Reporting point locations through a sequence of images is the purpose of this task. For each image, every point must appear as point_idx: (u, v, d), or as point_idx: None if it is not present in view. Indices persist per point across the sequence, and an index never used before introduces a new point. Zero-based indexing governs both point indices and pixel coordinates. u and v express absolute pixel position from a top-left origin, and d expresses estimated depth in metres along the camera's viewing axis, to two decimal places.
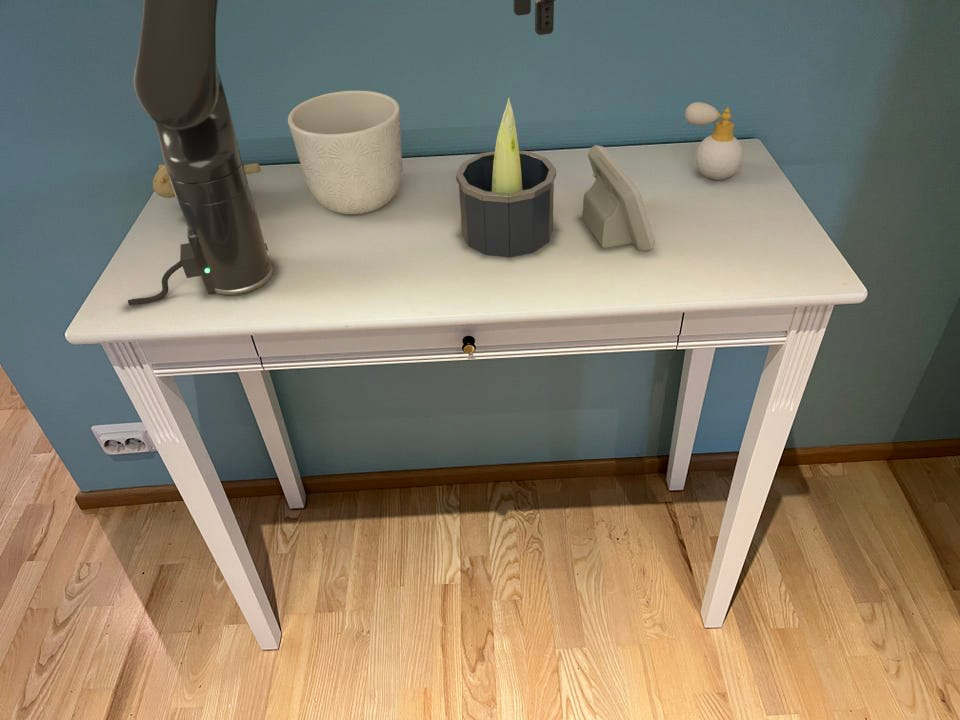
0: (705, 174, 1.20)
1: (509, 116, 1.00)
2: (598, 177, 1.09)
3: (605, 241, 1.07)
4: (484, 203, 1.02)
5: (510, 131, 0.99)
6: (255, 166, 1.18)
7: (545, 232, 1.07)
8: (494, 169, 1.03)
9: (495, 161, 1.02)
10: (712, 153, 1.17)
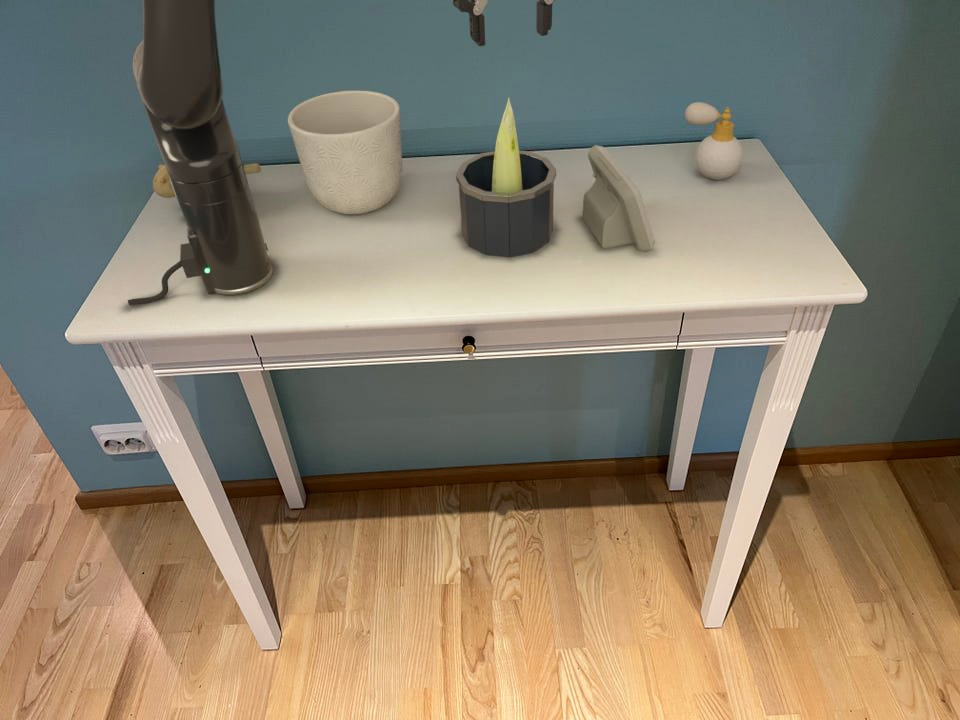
0: (705, 174, 1.20)
1: (509, 116, 1.00)
2: (598, 177, 1.09)
3: (605, 241, 1.07)
4: (484, 203, 1.02)
5: (510, 131, 0.99)
6: (255, 166, 1.18)
7: (545, 232, 1.07)
8: (494, 169, 1.03)
9: (495, 161, 1.02)
10: (712, 153, 1.17)
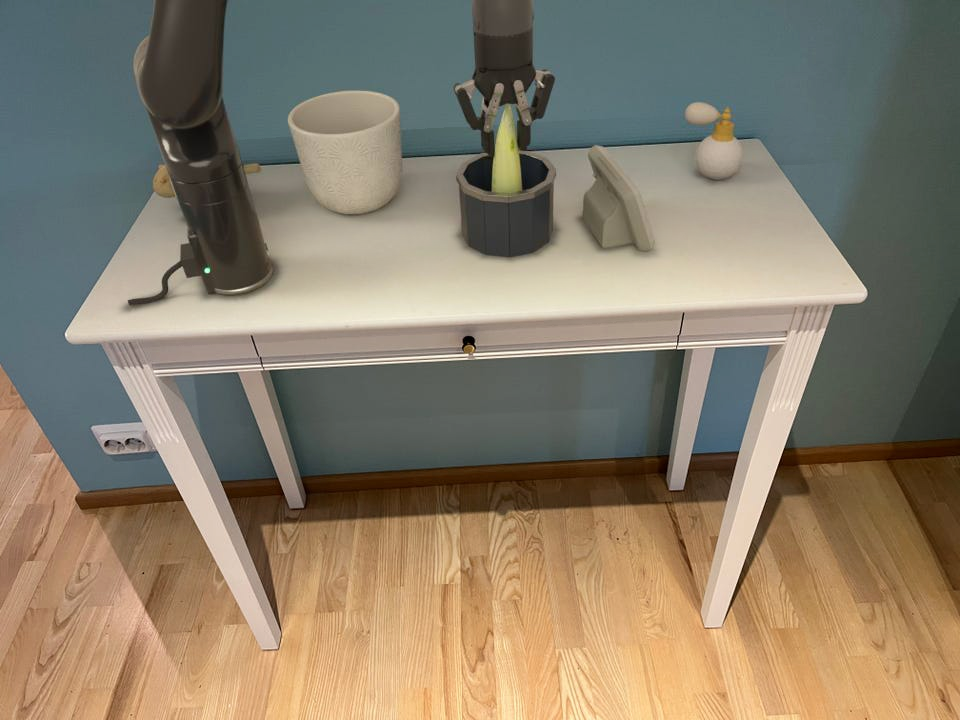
0: (705, 174, 1.20)
1: (508, 116, 1.00)
2: (598, 177, 1.09)
3: (605, 241, 1.07)
4: (484, 203, 1.02)
5: (509, 131, 0.99)
6: (255, 166, 1.18)
7: (545, 232, 1.07)
8: (494, 169, 1.03)
9: (495, 161, 1.02)
10: (712, 153, 1.17)
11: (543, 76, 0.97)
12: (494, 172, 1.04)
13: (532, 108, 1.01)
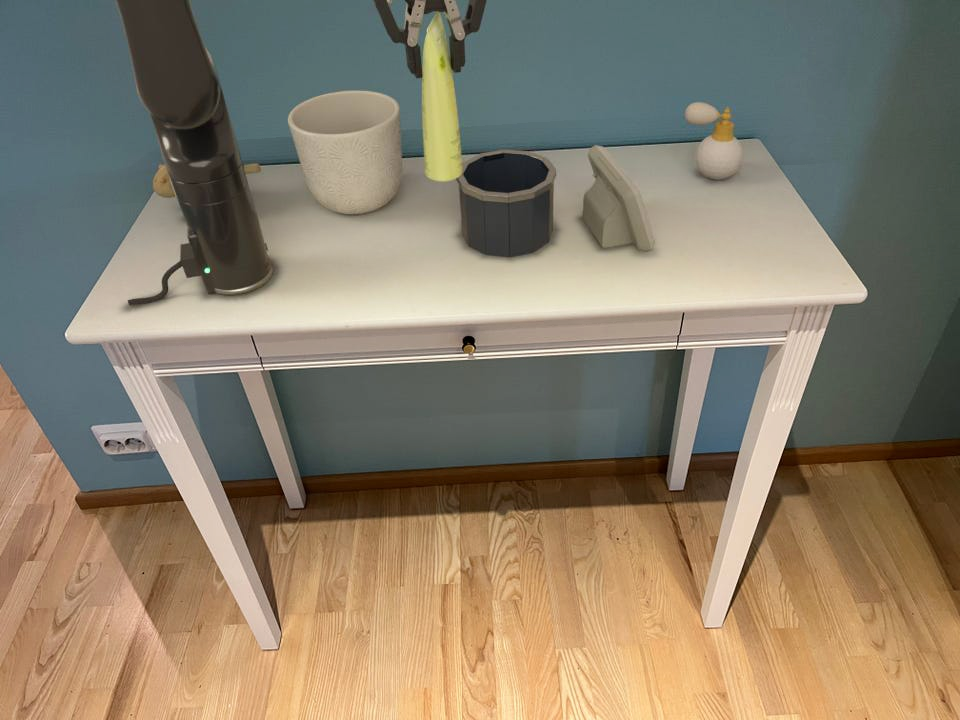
0: (705, 174, 1.20)
1: (438, 28, 0.84)
2: (598, 177, 1.09)
3: (605, 241, 1.07)
4: (484, 203, 1.02)
5: (438, 45, 0.83)
6: (255, 166, 1.18)
7: (545, 232, 1.07)
8: (422, 94, 0.88)
9: (423, 84, 0.87)
10: (712, 153, 1.17)
11: None
12: (423, 98, 0.88)
13: (466, 20, 0.85)
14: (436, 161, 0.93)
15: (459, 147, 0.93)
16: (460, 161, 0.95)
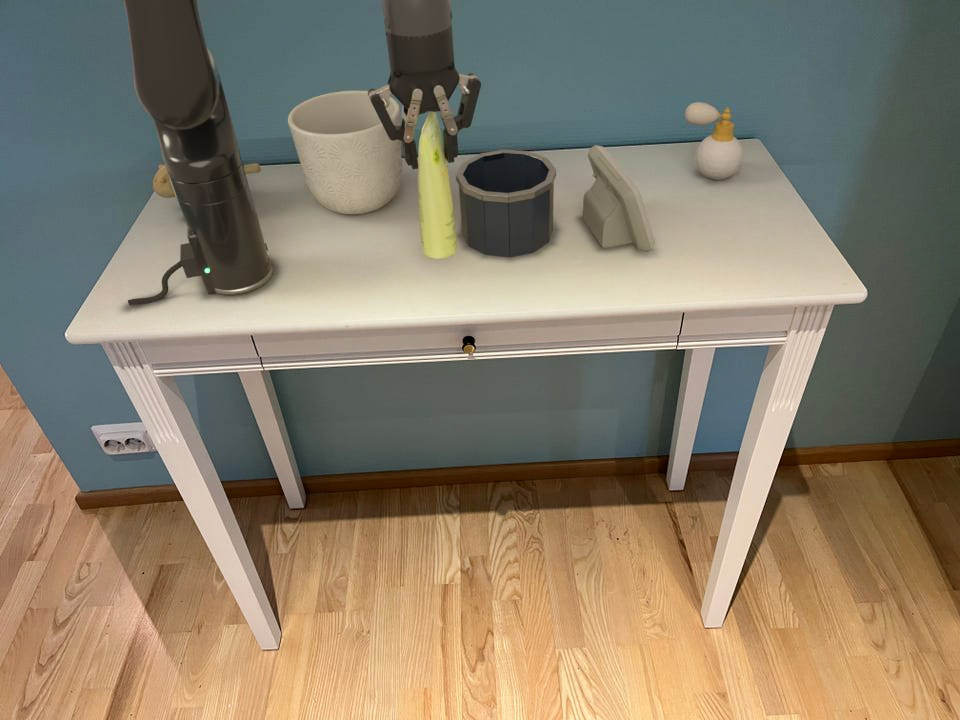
0: (705, 174, 1.20)
1: (432, 125, 0.90)
2: (598, 177, 1.09)
3: (605, 241, 1.07)
4: (484, 203, 1.02)
5: (432, 141, 0.89)
6: (255, 166, 1.18)
7: (545, 232, 1.07)
8: (418, 183, 0.94)
9: (418, 174, 0.93)
10: (712, 153, 1.17)
11: (468, 81, 0.88)
12: (419, 186, 0.94)
13: (458, 116, 0.91)
14: (432, 241, 0.99)
15: (453, 227, 0.99)
16: (455, 240, 1.01)
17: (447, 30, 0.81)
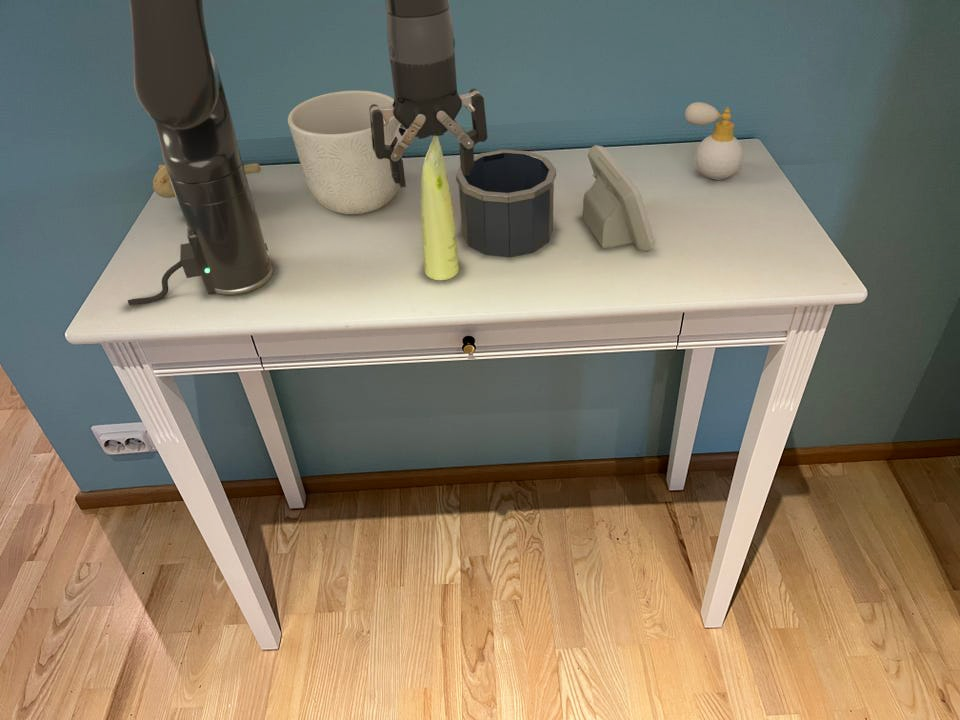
0: (705, 174, 1.20)
1: (435, 152, 0.93)
2: (598, 177, 1.09)
3: (605, 241, 1.07)
4: (484, 203, 1.02)
5: (435, 168, 0.92)
6: (255, 166, 1.18)
7: (545, 232, 1.07)
8: (421, 208, 0.96)
9: (422, 200, 0.95)
10: (712, 153, 1.17)
11: (470, 99, 0.89)
12: (422, 211, 0.96)
13: (475, 130, 0.93)
14: (434, 264, 1.01)
15: (455, 249, 1.02)
16: (456, 262, 1.03)
17: (450, 58, 0.83)
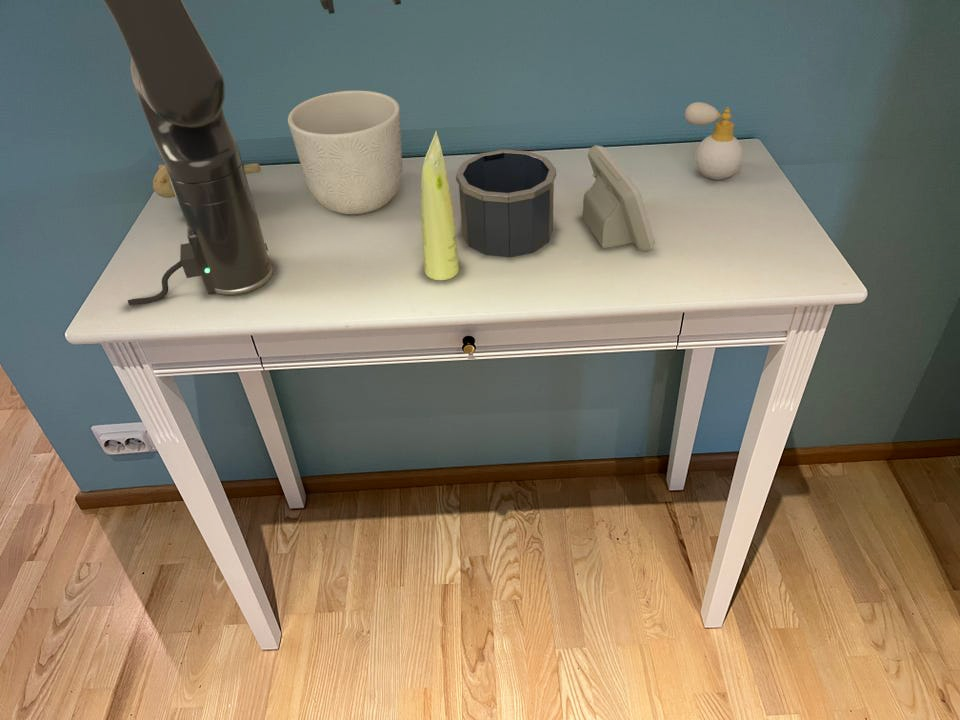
0: (705, 174, 1.20)
1: (435, 152, 0.93)
2: (598, 177, 1.09)
3: (605, 241, 1.07)
4: (484, 203, 1.02)
5: (435, 168, 0.92)
6: (255, 166, 1.18)
7: (545, 232, 1.07)
8: (421, 208, 0.96)
9: (422, 200, 0.95)
10: (712, 153, 1.17)
11: None
12: (422, 211, 0.96)
13: None
14: (434, 264, 1.01)
15: (455, 249, 1.02)
16: (456, 262, 1.03)
17: None
